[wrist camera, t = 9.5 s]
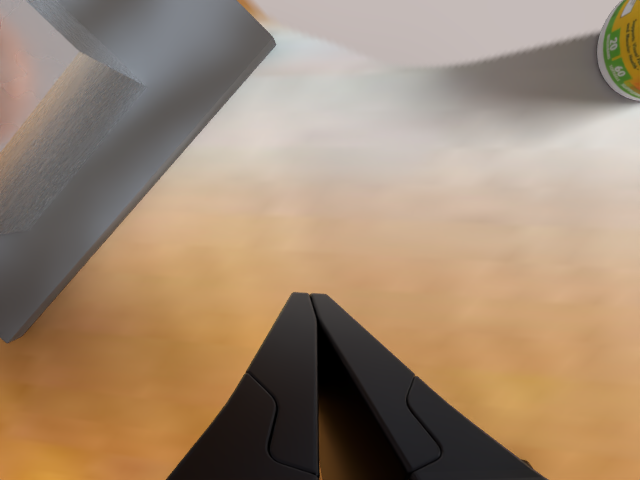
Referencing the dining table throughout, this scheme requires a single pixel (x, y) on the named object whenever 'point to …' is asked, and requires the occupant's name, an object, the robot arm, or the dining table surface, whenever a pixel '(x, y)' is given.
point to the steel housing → (52, 104)
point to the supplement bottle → (621, 49)
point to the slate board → (131, 134)
